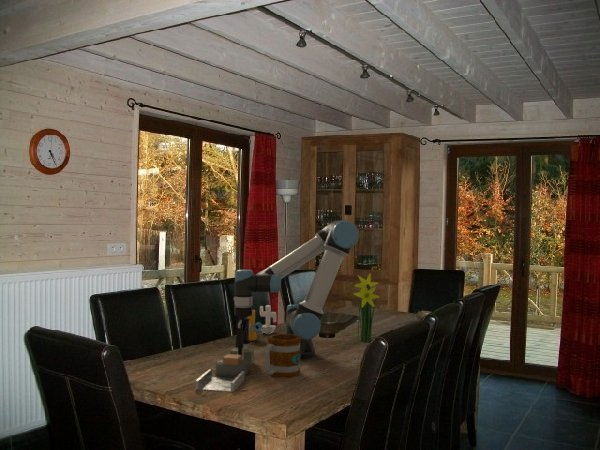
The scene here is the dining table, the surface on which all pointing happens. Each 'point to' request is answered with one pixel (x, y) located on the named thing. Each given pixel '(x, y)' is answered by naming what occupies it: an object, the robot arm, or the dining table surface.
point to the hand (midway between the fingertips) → (242, 360)
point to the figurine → (268, 319)
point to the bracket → (218, 382)
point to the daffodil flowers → (366, 306)
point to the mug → (283, 355)
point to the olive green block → (246, 355)
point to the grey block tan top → (231, 366)
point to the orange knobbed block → (253, 327)
